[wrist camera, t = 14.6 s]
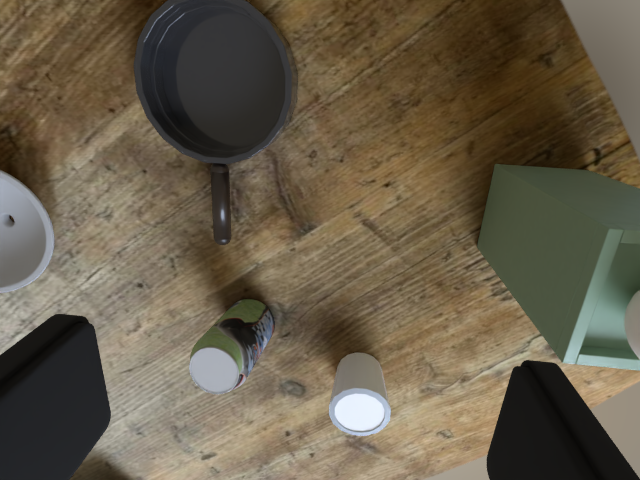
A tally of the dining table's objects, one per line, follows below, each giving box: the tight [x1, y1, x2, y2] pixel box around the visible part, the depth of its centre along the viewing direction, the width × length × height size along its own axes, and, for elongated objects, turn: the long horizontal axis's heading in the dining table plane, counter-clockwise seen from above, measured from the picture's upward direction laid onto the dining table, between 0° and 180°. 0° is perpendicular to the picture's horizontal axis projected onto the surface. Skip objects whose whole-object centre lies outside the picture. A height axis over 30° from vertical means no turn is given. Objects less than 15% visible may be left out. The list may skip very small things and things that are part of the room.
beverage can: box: [189, 299, 275, 394], centre depth 42 cm, size 6×7×12 cm
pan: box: [134, 0, 298, 164], centre depth 36 cm, size 14×14×4 cm
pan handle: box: [210, 163, 231, 245], centre depth 40 cm, size 9×2×2 cm, turn 177°
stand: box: [477, 164, 640, 370], centre depth 31 cm, size 9×9×19 cm
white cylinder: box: [329, 352, 391, 436], centre depth 46 cm, size 7×7×7 cm
